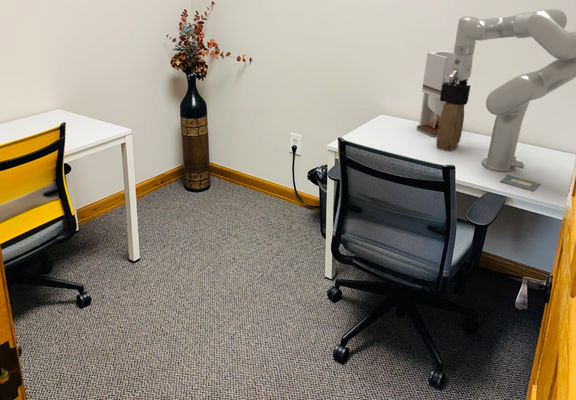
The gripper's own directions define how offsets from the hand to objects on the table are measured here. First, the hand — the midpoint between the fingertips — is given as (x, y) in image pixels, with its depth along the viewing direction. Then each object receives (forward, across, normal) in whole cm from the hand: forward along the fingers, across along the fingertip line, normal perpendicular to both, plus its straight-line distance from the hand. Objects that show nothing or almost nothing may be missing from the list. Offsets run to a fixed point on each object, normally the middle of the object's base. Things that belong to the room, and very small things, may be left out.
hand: (456, 93), depth 221 cm
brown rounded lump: (+24, 0, 0) cm, 24 cm away
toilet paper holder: (+24, +14, +13) cm, 30 cm away
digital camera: (+4, -1, 0) cm, 4 cm away
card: (+23, -17, -36) cm, 46 cm away
